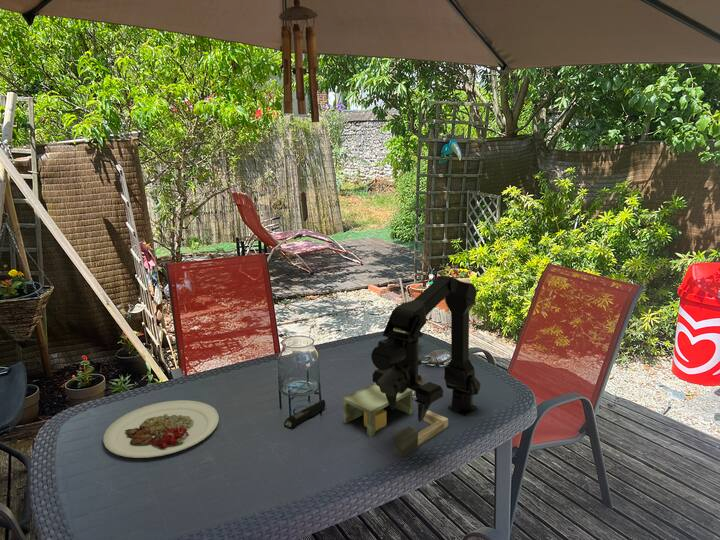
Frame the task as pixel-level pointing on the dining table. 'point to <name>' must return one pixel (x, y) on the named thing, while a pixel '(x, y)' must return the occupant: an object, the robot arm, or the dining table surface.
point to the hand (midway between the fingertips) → (406, 414)
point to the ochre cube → (377, 419)
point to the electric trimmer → (304, 415)
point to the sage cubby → (373, 404)
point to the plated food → (161, 429)
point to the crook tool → (418, 434)
